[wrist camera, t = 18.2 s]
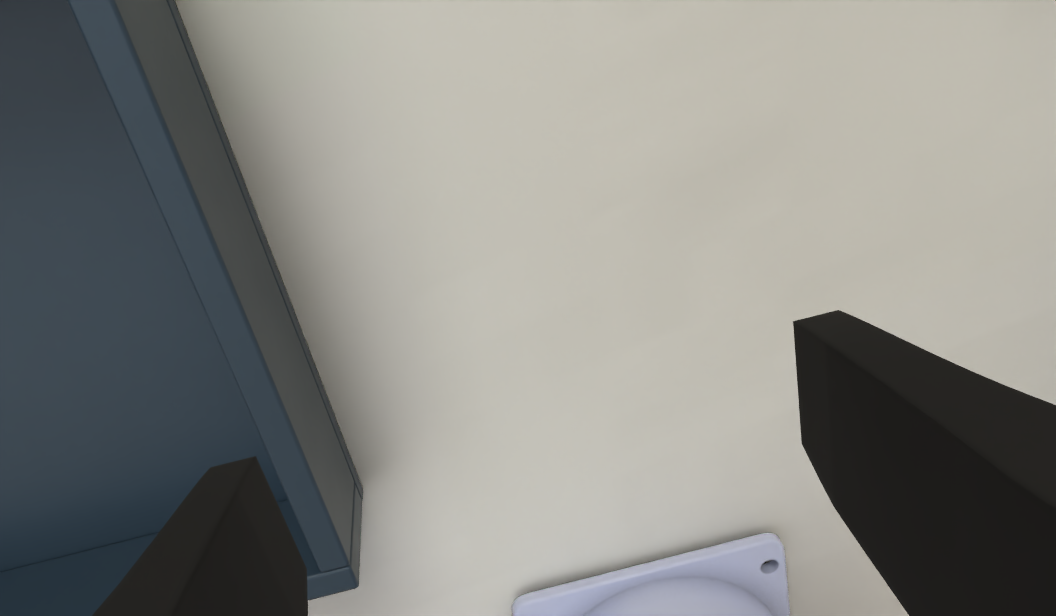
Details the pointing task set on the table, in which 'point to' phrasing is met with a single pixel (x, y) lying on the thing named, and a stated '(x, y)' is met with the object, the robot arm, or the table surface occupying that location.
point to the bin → (139, 314)
